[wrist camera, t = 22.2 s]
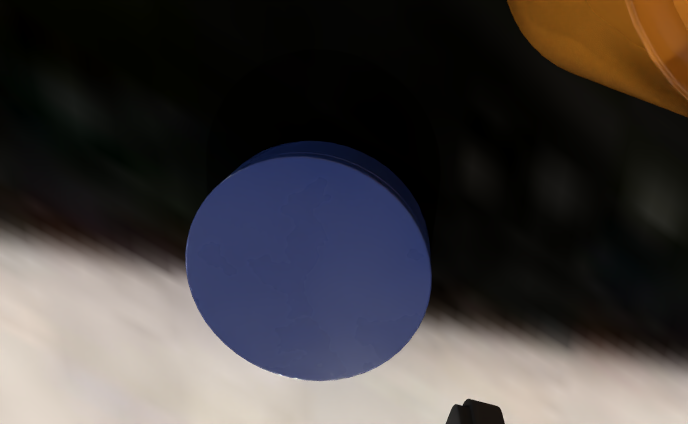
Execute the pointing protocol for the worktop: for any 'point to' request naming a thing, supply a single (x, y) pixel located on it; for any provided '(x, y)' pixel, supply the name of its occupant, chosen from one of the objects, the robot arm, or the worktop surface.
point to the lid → (311, 261)
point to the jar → (615, 43)
